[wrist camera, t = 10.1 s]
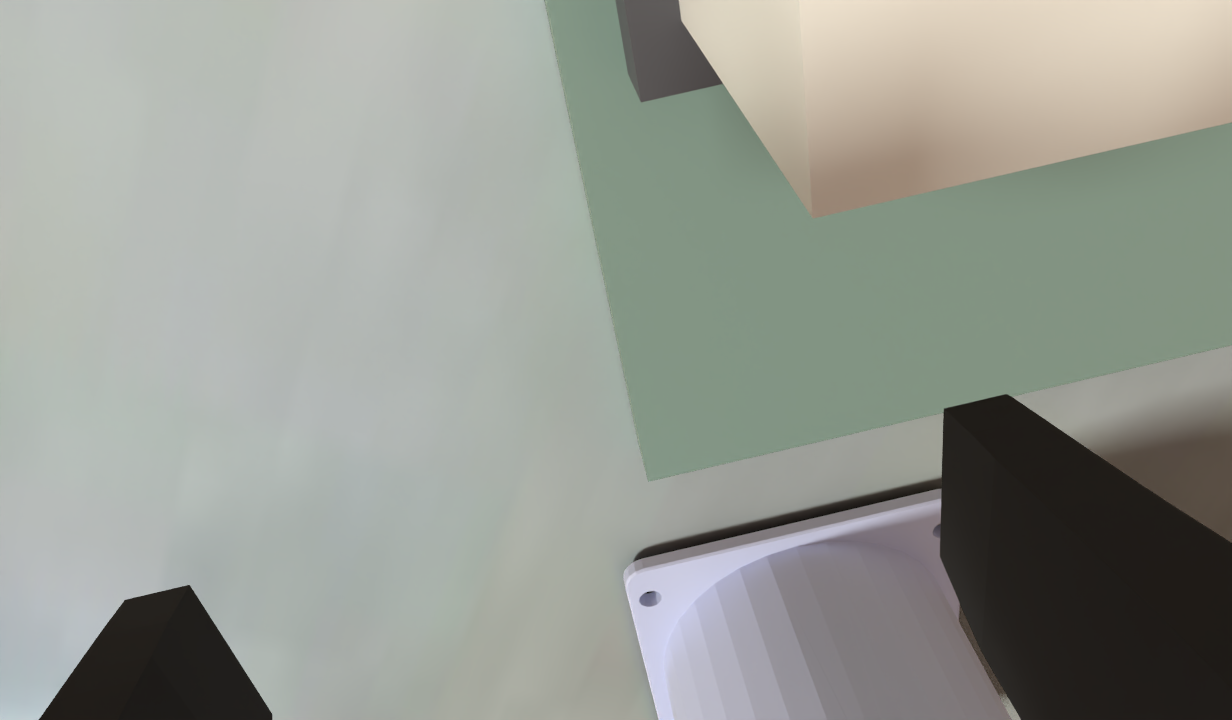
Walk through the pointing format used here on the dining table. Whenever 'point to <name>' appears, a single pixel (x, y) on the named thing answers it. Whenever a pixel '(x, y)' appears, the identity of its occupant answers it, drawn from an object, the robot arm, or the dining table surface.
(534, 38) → the dining table surface
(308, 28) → the dining table surface
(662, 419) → the header board
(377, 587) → the dining table surface
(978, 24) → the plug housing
